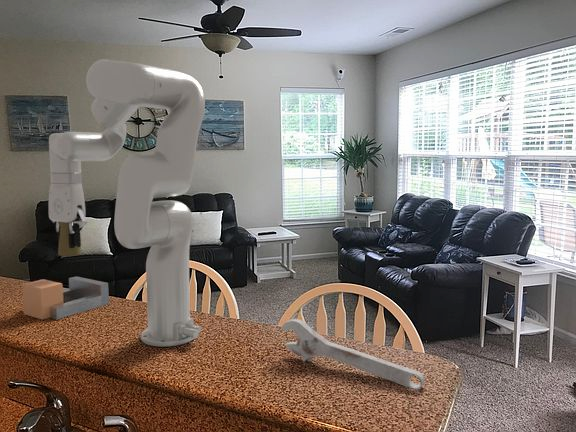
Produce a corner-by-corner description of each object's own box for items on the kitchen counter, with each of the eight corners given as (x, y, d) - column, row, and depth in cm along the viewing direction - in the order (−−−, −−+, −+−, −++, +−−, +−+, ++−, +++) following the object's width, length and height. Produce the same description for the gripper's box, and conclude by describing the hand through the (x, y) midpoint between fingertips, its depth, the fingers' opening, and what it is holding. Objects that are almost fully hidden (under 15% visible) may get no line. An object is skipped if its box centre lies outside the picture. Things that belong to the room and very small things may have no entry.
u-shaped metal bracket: (108, 303, 135) (108, 282, 134) (56, 320, 121) (55, 297, 120) (77, 296, 142) (76, 276, 141) (24, 310, 128) (23, 289, 127)
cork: (62, 257, 127) (60, 216, 125) (54, 253, 131) (52, 214, 130) (85, 254, 131) (83, 214, 129) (77, 250, 135) (75, 212, 134)
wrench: (418, 406, 86) (278, 353, 100) (421, 401, 88) (282, 350, 102) (425, 364, 85) (282, 317, 99) (428, 361, 86) (286, 314, 101)
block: (63, 313, 126) (62, 283, 125) (42, 319, 121) (40, 288, 120) (45, 307, 130) (43, 279, 129) (23, 313, 125) (21, 284, 124)
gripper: (34, 179, 129) (38, 245, 132) (73, 181, 121) (77, 252, 123) (59, 178, 136) (63, 241, 138) (98, 180, 127) (101, 247, 130)
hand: (69, 245), depth 131 cm, fingers closed on cork, 4 cm apart
